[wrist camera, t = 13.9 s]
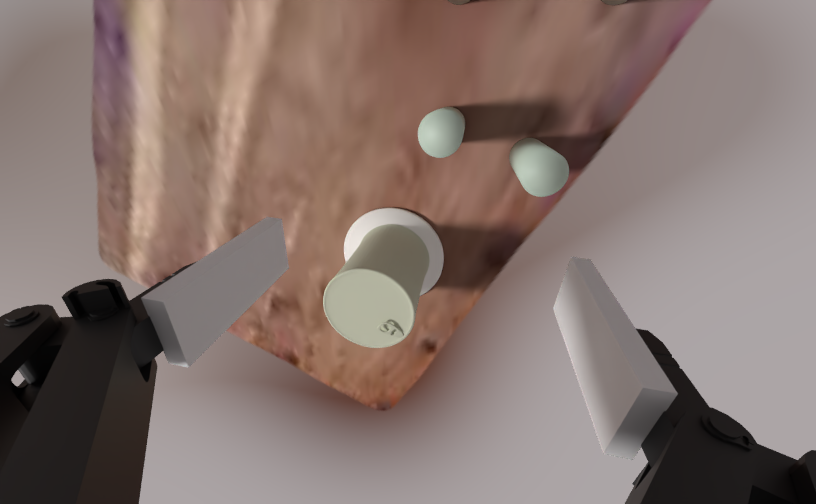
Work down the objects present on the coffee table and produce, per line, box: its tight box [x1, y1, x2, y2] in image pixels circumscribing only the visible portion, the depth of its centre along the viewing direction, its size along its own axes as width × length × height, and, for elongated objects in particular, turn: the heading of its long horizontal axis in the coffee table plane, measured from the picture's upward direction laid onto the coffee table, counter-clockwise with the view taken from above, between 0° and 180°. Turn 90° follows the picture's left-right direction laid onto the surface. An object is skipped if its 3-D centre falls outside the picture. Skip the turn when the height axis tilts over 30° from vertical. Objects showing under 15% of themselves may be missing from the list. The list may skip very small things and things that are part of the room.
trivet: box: [344, 207, 444, 296], centre depth 41 cm, size 13×13×1 cm
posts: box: [418, 0, 628, 197], centre depth 26 cm, size 17×21×9 cm
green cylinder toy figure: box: [323, 224, 430, 348], centre depth 35 cm, size 9×9×12 cm
